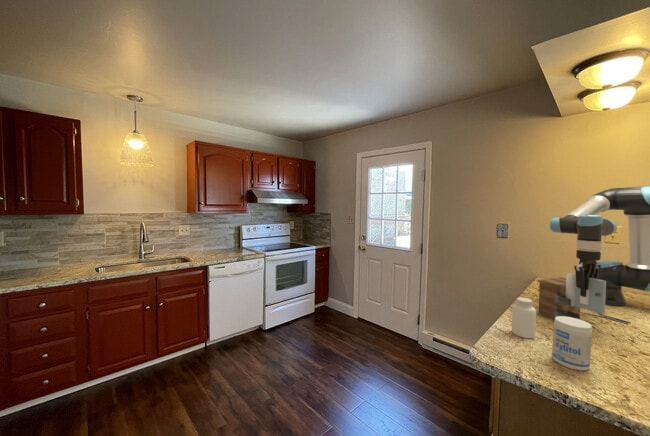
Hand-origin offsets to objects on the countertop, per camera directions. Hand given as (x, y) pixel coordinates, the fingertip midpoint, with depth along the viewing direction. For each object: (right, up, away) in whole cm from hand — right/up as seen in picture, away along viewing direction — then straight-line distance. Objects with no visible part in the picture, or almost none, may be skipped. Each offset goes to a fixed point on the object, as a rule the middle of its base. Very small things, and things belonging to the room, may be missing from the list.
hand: (586, 303), depth 115 cm
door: (0, -2, +1) cm, 3 cm away
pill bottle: (-31, -12, -4) cm, 33 cm away
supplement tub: (-30, -13, -25) cm, 41 cm away
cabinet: (+2, -11, +13) cm, 17 cm away
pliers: (+23, -11, +15) cm, 30 cm away
